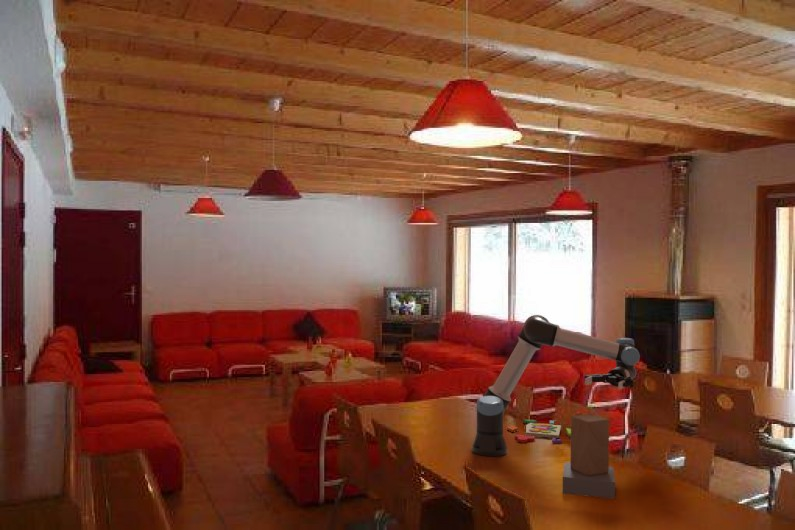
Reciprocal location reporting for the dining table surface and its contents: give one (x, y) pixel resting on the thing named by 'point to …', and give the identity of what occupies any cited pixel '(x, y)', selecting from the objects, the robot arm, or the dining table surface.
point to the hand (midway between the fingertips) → (602, 383)
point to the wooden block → (589, 444)
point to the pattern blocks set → (539, 431)
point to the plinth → (588, 483)
